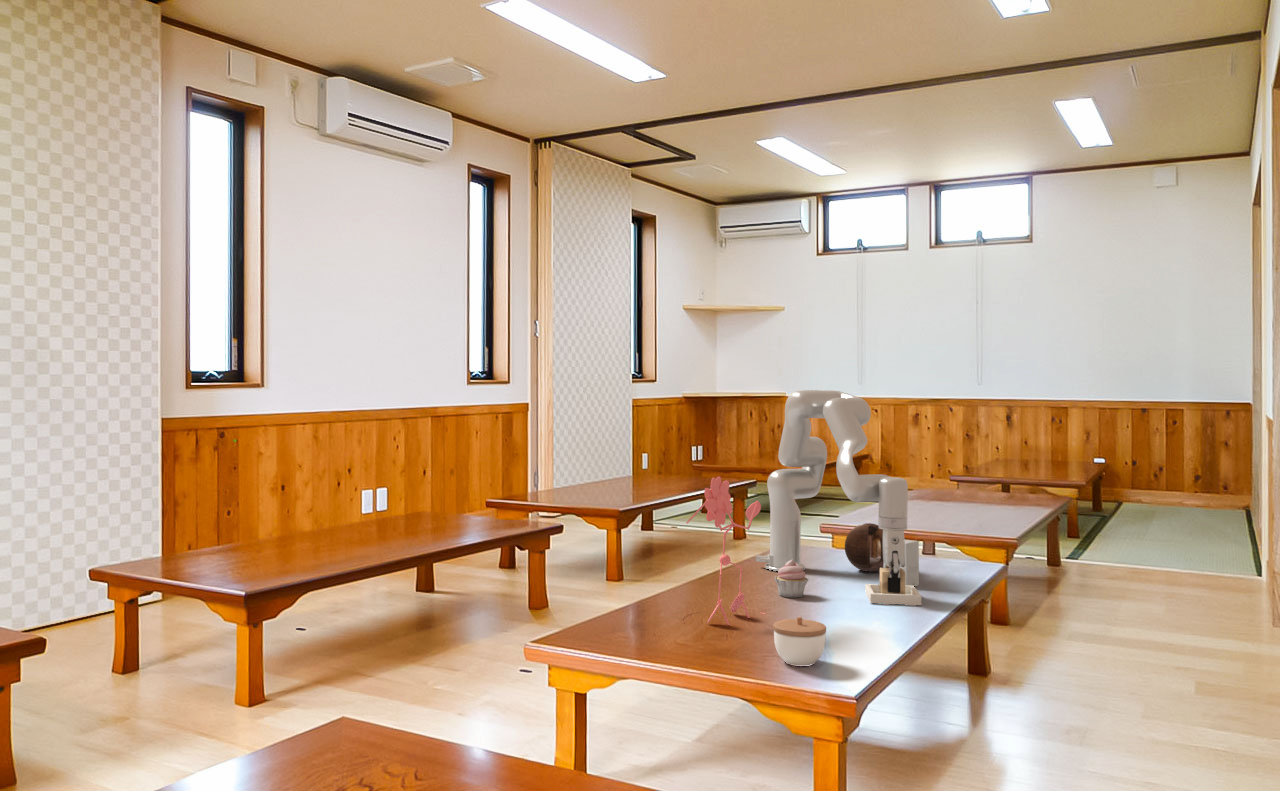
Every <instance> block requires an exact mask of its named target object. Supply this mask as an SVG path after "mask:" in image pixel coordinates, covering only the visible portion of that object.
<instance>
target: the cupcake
mask: <svg viewBox="0 0 1280 791" xmlns="http://www.w3.org/2000/svg"><path fill="white" fill-rule="evenodd" d="M777 574H778V576H774V580H775V583H776V584H777V590H778V594H779V596H780V597H782V596H783V597H782V598H786V597H790V598H789V599H798V597H799V598H802V597H803V596H804V593H805V588H806V585H807V583H808V581H809V578H808V577H806V572H805V570H804V571H803V570H802V567H801V566H800V565H799V564H797V563H796V562H794V561H793V560H790V561H788V562H787V563H786V564H785V566H784V567H782V568H780V569H779V571H778V572H777Z"/></svg>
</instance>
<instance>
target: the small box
mask: <svg viewBox="0 0 1280 791" xmlns="http://www.w3.org/2000/svg"><path fill="white" fill-rule="evenodd" d="M919 543H920V541H919V540H918V541H917V540H913V539H912V540H910V539H905V567H902V566H901V565H900V563H899V565H900V568H902V569H903V570H904V571H905V585H908V586H915V587H918V586H919V585H920V584H919V583H920V574H919V573H920V558H919V557H920V556H919V555H920V554H919V553H920V551H919V550H920V549H919V547H920V546H919V545H920V544H919ZM883 568H885V563H883Z"/></svg>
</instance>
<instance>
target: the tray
mask: <svg viewBox="0 0 1280 791" xmlns="http://www.w3.org/2000/svg"><path fill="white" fill-rule="evenodd" d="M864 587H865V588H864V589H865V592H866V594H865V595H867V596H866V597H868V598H869V600H868V601H870V602H869V604H870V603H885V604H884V605H889V604H905V605H904V606H916V605H921V606H922V594H921V593H920V592H919V591H918V589H917V588H916V586H915V587H914V586H908V585H905V594H882V593H881V591H880V584H870V583H865V585H864ZM865 592H864V593H865ZM868 598H867V599H868ZM906 604H907V605H906Z"/></svg>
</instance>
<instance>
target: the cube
mask: <svg viewBox="0 0 1280 791" xmlns="http://www.w3.org/2000/svg"><path fill="white" fill-rule="evenodd" d="M891 570H892V569H891ZM888 577H889V568H880V570H879V585H880V591H881V593H882V594H905V571H904V570H903V569H902V568H900V593H889V592H888Z"/></svg>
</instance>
